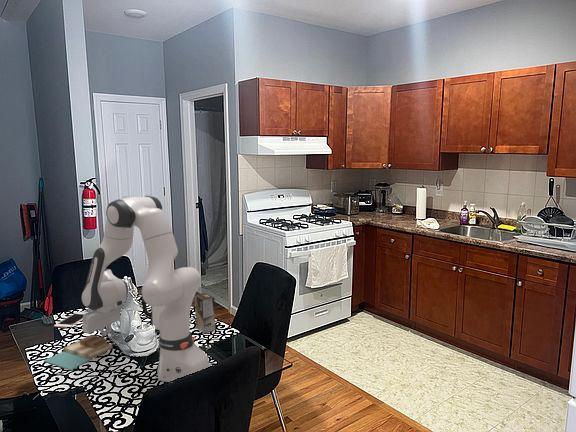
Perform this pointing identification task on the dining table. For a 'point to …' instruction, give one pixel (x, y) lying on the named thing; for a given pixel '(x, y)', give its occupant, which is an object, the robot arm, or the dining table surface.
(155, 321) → the coffee press
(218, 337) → the dining table surface
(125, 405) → the dining table surface
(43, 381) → the dining table surface
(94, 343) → the tile
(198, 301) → the coffee box
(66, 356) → the mat
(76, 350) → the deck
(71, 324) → the cell phone
